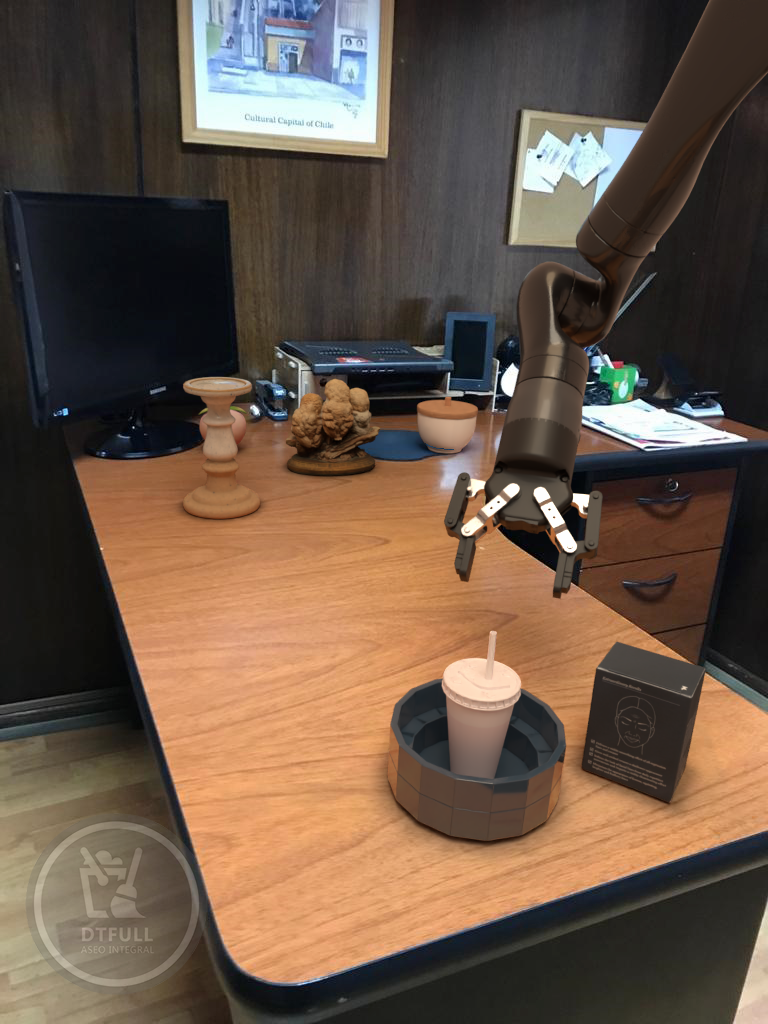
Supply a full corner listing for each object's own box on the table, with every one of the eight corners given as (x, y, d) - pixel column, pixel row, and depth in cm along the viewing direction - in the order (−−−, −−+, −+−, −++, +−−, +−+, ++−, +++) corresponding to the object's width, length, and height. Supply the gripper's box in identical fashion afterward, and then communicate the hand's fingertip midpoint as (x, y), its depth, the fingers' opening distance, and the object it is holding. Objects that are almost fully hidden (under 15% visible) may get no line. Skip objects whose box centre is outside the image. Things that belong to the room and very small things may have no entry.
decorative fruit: (209, 459, 149) (207, 408, 146) (195, 448, 156) (193, 399, 152) (254, 454, 154) (254, 405, 150) (240, 443, 160) (239, 396, 157)
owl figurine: (370, 456, 156) (373, 371, 150) (386, 473, 146) (391, 384, 140) (281, 459, 151) (281, 372, 145) (292, 478, 141) (292, 385, 135)
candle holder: (210, 489, 133) (205, 372, 126) (273, 500, 129) (272, 380, 122) (167, 511, 122) (159, 385, 115) (235, 524, 118) (231, 394, 111)
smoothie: (492, 812, 62) (510, 660, 57) (421, 782, 65) (432, 636, 60) (521, 767, 67) (539, 625, 62) (454, 742, 70) (466, 604, 65)
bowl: (551, 742, 72) (559, 686, 69) (562, 858, 58) (572, 794, 56) (399, 723, 73) (402, 668, 71) (376, 832, 60) (379, 768, 58)
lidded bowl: (466, 440, 170) (470, 391, 166) (481, 457, 159) (485, 404, 155) (410, 440, 169) (413, 390, 165) (420, 457, 157) (423, 403, 153)
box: (685, 769, 69) (708, 666, 65) (669, 806, 64) (693, 697, 60) (599, 737, 73) (615, 638, 69) (578, 769, 68) (595, 665, 64)
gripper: (466, 406, 75) (428, 558, 69) (617, 423, 71) (591, 586, 65) (473, 446, 82) (438, 588, 76) (611, 463, 78) (587, 614, 72)
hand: (509, 587), depth 70 cm, fingers open, 8 cm apart
